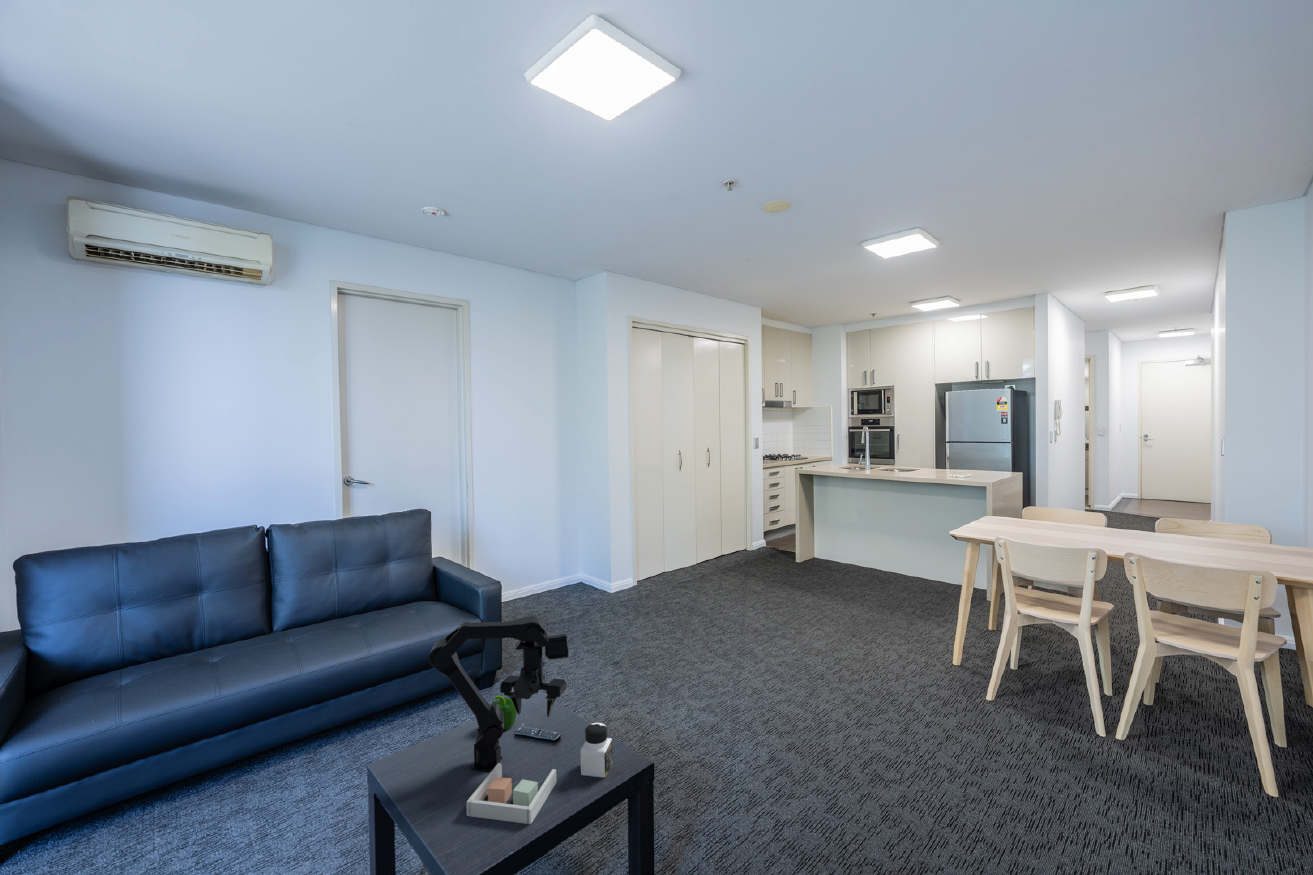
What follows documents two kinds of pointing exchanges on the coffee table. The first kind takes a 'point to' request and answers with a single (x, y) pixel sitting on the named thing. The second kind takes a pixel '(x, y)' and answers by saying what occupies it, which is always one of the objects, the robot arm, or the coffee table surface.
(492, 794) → the salmon pink cube
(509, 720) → the bell pepper
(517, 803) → the pale green cube
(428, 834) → the coffee table surface
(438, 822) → the coffee table surface
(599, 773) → the medicine bottle
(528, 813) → the box
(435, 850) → the coffee table surface
